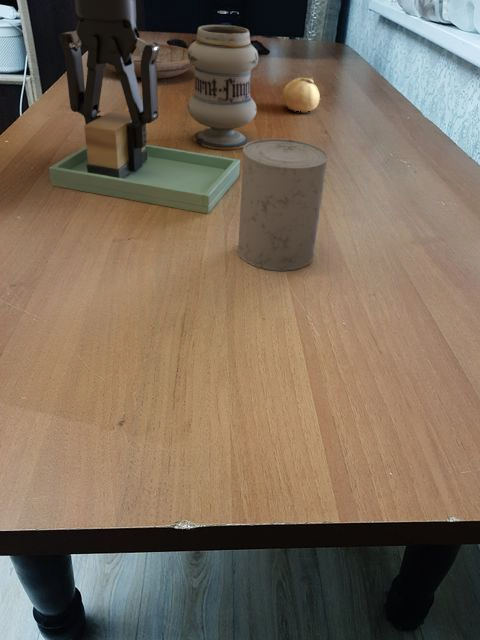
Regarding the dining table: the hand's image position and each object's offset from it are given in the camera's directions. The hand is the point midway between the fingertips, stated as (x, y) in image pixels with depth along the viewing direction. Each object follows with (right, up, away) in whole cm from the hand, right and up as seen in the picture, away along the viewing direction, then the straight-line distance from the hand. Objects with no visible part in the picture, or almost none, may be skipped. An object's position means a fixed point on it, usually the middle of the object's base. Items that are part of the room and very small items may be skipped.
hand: (118, 165), depth 85 cm
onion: (+30, +24, +38) cm, 54 cm away
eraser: (0, 0, 0) cm, 0 cm away
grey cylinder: (+23, -16, -15) cm, 32 cm away
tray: (+5, -2, 0) cm, 5 cm away
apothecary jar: (+14, +10, +18) cm, 25 cm away
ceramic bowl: (-7, +40, +54) cm, 68 cm away
